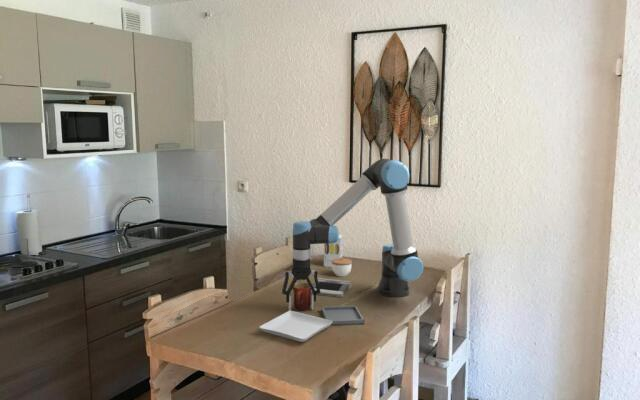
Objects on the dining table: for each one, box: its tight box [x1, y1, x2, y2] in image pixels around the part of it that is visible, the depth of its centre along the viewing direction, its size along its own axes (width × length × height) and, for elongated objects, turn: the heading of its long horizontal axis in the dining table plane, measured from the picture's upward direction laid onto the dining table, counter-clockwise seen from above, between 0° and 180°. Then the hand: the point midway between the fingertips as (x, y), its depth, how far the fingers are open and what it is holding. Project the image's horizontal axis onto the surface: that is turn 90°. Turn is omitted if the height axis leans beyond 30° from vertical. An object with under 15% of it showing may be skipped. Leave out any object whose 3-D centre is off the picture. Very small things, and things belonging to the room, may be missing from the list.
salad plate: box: [259, 310, 332, 343], centre depth 212 cm, size 21×21×3 cm
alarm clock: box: [311, 277, 352, 298], centre depth 262 cm, size 17×5×16 cm
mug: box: [292, 282, 311, 312], centre depth 234 cm, size 12×9×10 cm
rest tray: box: [321, 305, 365, 327], centre depth 226 cm, size 15×17×2 cm
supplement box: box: [323, 234, 344, 268], centre depth 306 cm, size 10×9×17 cm
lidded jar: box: [331, 256, 353, 277], centre depth 287 cm, size 11×11×9 cm
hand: (301, 309), depth 235 cm, fingers open, 9 cm apart
